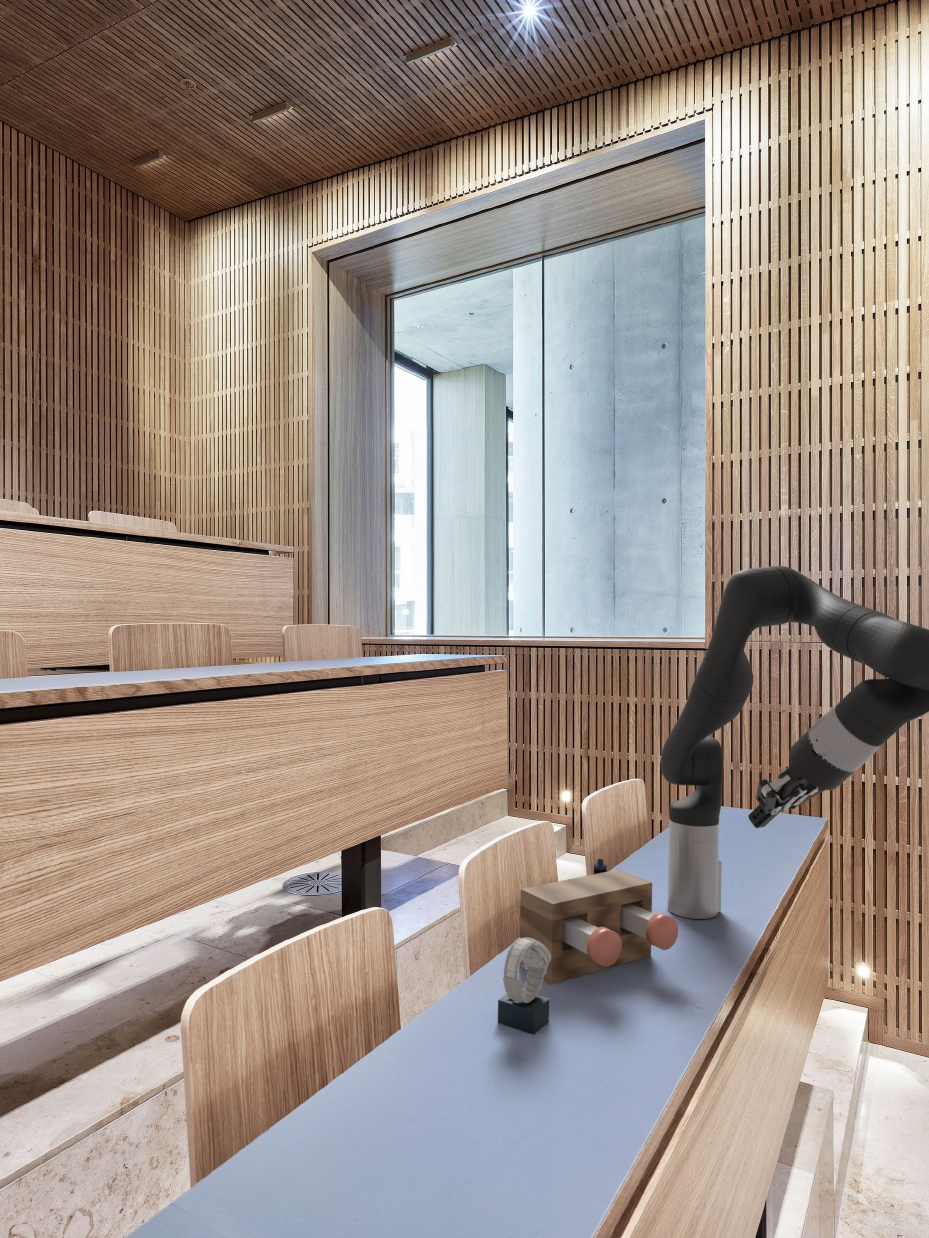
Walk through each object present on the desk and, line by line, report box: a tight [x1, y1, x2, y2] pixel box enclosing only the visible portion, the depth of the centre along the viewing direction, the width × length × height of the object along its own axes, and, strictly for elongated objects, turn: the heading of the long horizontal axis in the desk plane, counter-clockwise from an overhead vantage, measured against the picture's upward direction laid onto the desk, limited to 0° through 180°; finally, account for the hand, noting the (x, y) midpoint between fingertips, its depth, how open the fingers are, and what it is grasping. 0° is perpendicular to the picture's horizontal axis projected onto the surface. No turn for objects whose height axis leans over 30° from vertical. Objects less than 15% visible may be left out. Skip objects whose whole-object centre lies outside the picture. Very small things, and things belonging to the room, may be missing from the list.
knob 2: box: [620, 903, 679, 951], centre depth 126 cm, size 5×10×5 cm, turn 33°
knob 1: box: [562, 916, 622, 967], centre depth 120 cm, size 5×10×5 cm, turn 33°
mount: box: [519, 869, 653, 985], centre depth 128 cm, size 21×8×12 cm, turn 123°
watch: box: [497, 937, 551, 1036], centre depth 108 cm, size 6×8×11 cm
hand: (754, 822), depth 114 cm, fingers closed
